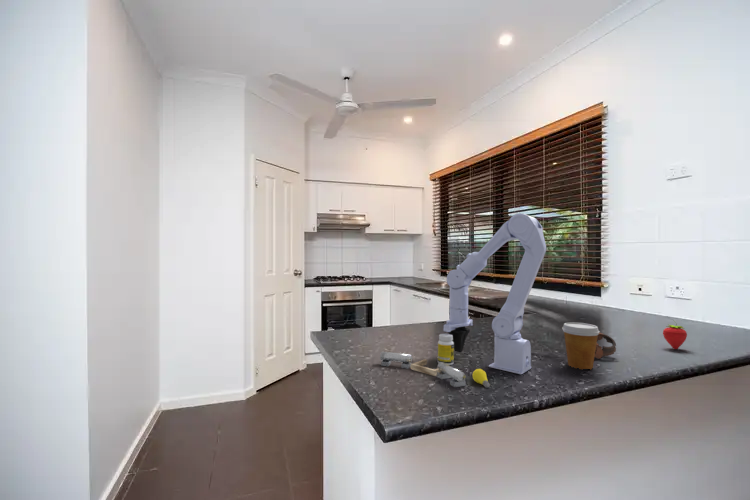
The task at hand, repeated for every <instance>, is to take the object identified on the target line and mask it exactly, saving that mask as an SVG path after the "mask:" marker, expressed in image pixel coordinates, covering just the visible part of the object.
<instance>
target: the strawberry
mask: <svg viewBox="0 0 750 500" xmlns="http://www.w3.org/2000/svg"><path fill="white" fill-rule="evenodd" d="M673 321H674V323H675V325H673V324H668V325H666V326H665V328H664V329H663V331H662V335H663V338H664V339H665V341H666V342H667V343H668V345H670V346H671V348H672V349H673V350H678V349H679V348H680V347H681V346H682V345H683V344H684V342H686V339H687V336H688V334H687V333H688V332H687V331H686V330H685V327H684V326H682V325H677V324H678V323H677V322H676V321H675V320H673Z"/></svg>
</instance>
